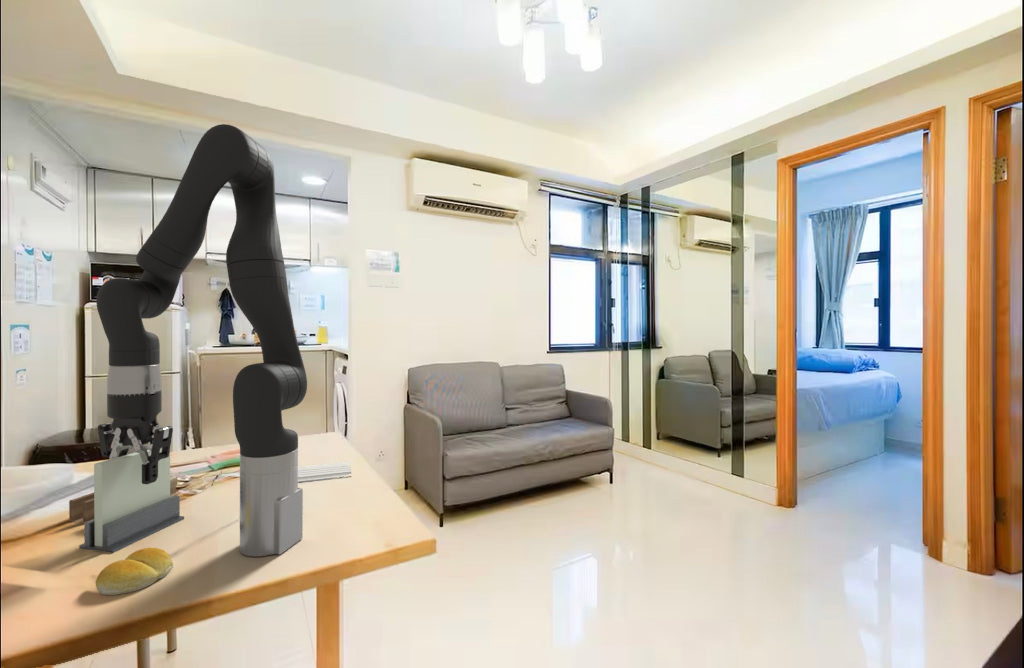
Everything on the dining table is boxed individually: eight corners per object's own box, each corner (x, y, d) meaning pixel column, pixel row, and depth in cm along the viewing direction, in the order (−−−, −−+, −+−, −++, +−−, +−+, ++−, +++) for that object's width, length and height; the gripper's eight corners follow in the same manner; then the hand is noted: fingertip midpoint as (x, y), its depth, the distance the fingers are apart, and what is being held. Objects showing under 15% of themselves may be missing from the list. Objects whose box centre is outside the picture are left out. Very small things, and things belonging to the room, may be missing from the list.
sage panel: (170, 516, 86) (170, 445, 86) (102, 546, 74) (101, 464, 74) (163, 515, 86) (163, 444, 86) (94, 545, 74) (94, 463, 74)
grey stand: (184, 526, 86) (184, 496, 86) (113, 561, 73) (112, 526, 73) (154, 522, 87) (154, 493, 87) (79, 556, 74) (79, 522, 74)
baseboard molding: (351, 481, 114) (349, 467, 125) (351, 469, 114) (349, 456, 125) (209, 497, 102) (221, 480, 113) (209, 484, 102) (221, 468, 113)
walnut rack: (186, 504, 96) (186, 480, 96) (118, 535, 82) (118, 506, 82) (141, 500, 98) (141, 475, 98) (67, 528, 84) (67, 500, 84)
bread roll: (82, 593, 65) (81, 566, 65) (145, 561, 74) (145, 538, 74) (123, 602, 63) (123, 575, 63) (184, 569, 72) (184, 545, 72)
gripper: (79, 390, 77) (80, 485, 78) (147, 394, 75) (147, 492, 75) (124, 385, 84) (124, 471, 85) (187, 388, 82) (187, 477, 82)
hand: (135, 481), depth 80 cm, fingers open, 5 cm apart
